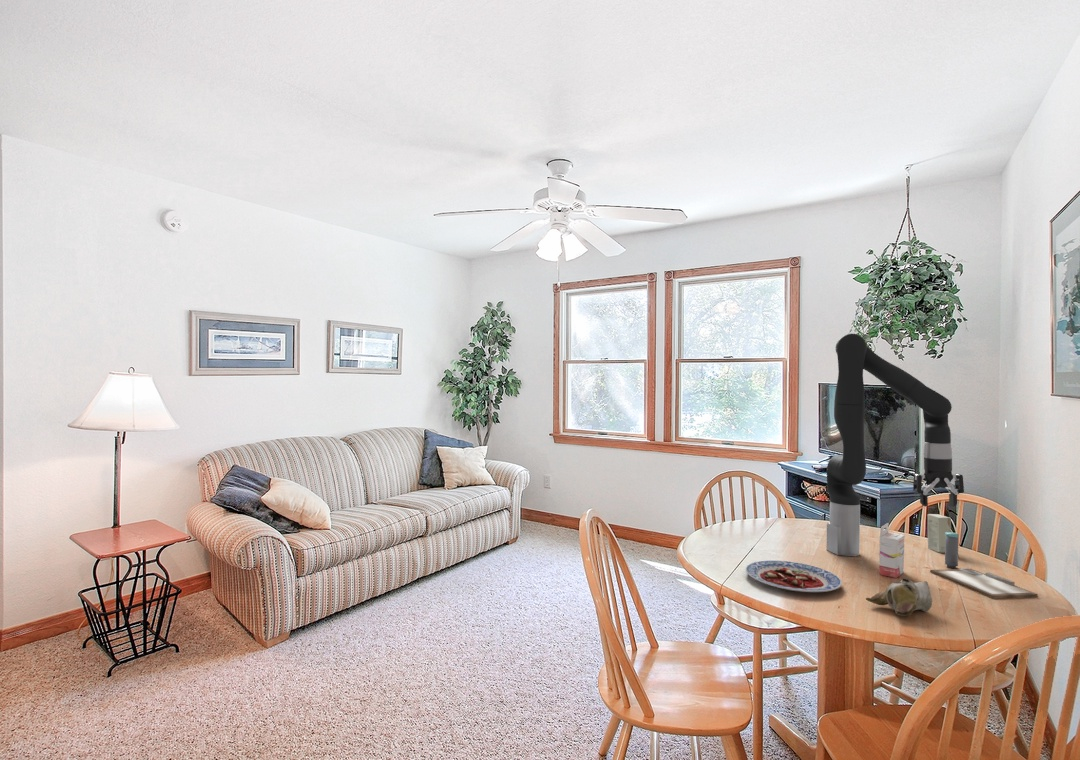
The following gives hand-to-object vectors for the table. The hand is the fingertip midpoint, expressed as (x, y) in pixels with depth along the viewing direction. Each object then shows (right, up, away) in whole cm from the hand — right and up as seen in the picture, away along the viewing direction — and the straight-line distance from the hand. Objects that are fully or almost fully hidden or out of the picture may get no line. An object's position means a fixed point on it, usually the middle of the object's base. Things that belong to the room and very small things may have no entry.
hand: (938, 505), depth 183 cm
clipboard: (-1, -19, -18) cm, 26 cm away
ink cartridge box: (-22, -19, -10) cm, 30 cm away
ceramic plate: (-56, -19, -18) cm, 62 cm away
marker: (+2, -19, -3) cm, 19 cm away
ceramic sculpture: (-37, -19, -39) cm, 56 cm away
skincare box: (+11, -19, +15) cm, 27 cm away
